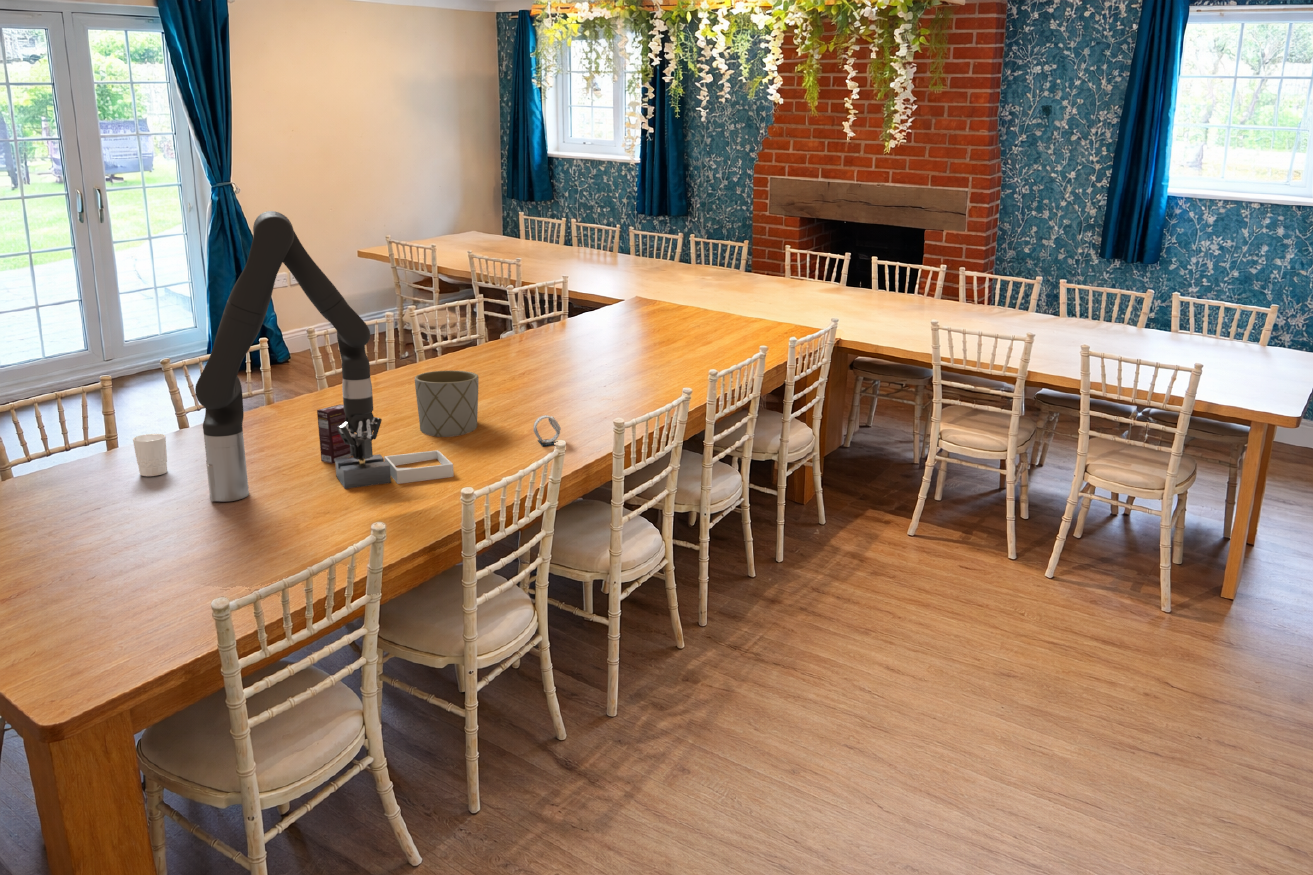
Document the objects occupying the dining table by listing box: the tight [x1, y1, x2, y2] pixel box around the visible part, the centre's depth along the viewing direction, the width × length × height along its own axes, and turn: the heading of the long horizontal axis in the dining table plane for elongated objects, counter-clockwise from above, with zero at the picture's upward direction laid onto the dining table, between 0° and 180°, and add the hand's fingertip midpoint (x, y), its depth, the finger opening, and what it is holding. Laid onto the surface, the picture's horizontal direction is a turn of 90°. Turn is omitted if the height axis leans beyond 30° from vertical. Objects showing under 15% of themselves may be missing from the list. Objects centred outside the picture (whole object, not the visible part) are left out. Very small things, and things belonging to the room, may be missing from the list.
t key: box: [350, 436, 374, 464], centre depth 268 cm, size 6×2×10 cm, turn 56°
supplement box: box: [316, 403, 353, 465], centre depth 283 cm, size 9×5×16 cm, turn 149°
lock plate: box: [334, 454, 392, 489], centre depth 268 cm, size 12×12×5 cm
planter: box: [414, 370, 479, 438], centre depth 307 cm, size 19×19×20 cm
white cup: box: [132, 433, 168, 477], centre depth 271 cm, size 8×8×10 cm
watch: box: [533, 414, 562, 448], centre depth 296 cm, size 6×8×11 cm
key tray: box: [383, 450, 455, 485], centre depth 275 cm, size 15×15×4 cm
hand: (361, 457), depth 268 cm, fingers closed on t key, 2 cm apart
